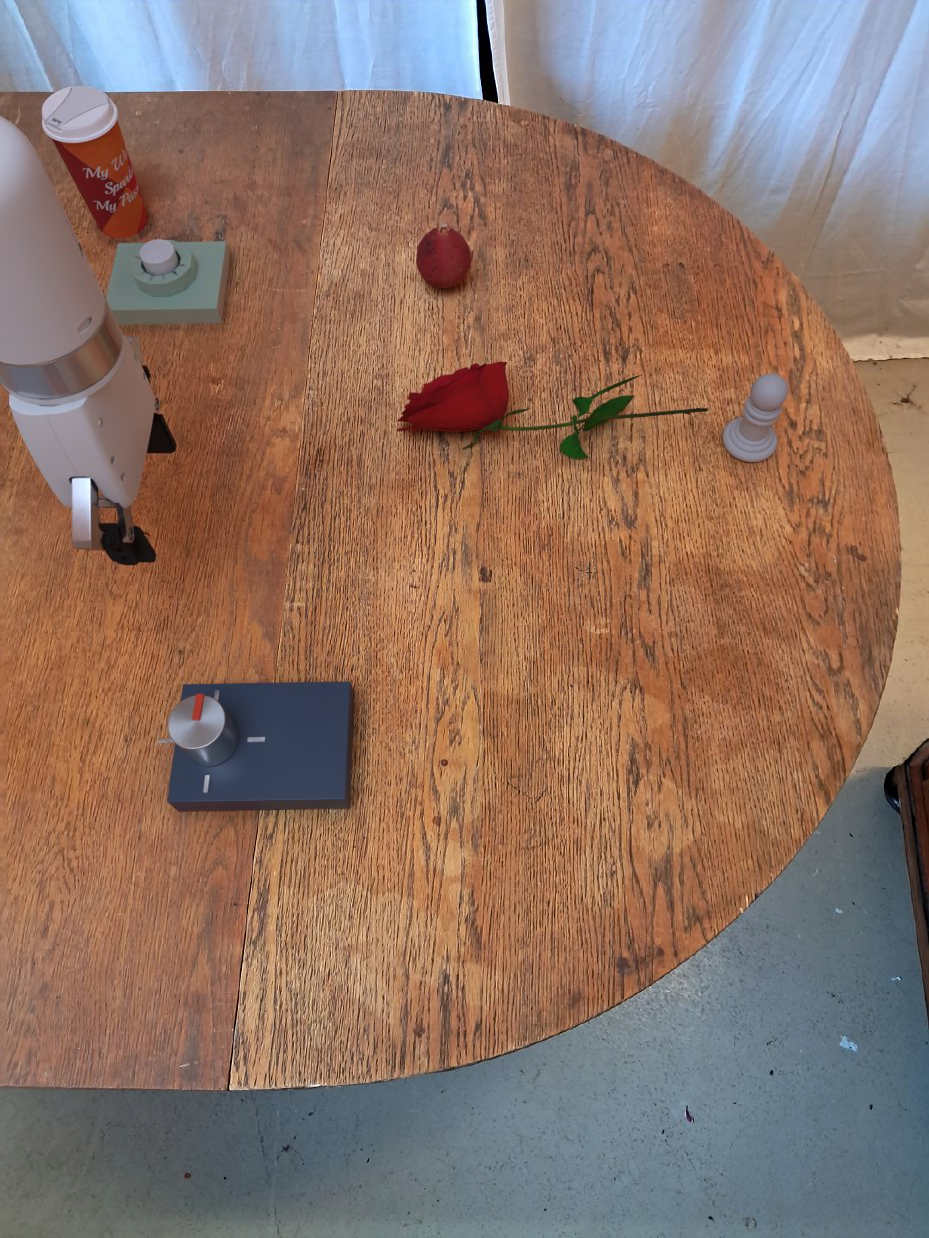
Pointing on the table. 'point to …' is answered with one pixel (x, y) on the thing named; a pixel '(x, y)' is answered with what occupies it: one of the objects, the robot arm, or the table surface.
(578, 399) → the flower
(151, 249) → the white push button
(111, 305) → the push button box
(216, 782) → the dial panel
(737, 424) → the chess piece
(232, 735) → the dial
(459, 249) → the red round fruit
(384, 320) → the table surface
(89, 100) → the paper cup
